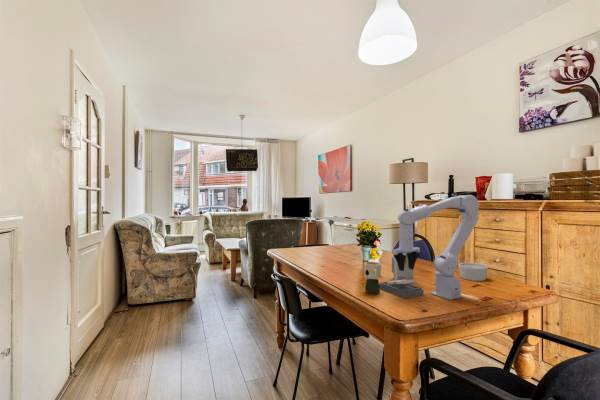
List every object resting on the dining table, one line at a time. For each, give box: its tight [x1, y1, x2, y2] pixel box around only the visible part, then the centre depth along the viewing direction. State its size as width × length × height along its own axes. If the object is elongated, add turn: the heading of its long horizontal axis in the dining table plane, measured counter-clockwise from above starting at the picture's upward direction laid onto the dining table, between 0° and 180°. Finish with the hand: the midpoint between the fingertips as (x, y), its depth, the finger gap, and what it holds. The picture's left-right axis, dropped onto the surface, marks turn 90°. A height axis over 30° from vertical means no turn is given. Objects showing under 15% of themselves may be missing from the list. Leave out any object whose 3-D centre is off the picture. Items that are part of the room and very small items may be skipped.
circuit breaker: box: [391, 253, 415, 285], centre depth 149 cm, size 8×14×15 cm, turn 174°
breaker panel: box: [379, 279, 425, 299], centre depth 133 cm, size 16×11×3 cm
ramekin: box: [458, 262, 489, 282], centre depth 154 cm, size 13×13×7 cm
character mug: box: [363, 261, 382, 294], centre depth 131 cm, size 11×7×13 cm, turn 2°
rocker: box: [386, 279, 415, 285], centre depth 133 cm, size 10×6×2 cm, turn 27°
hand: (406, 269), depth 129 cm, fingers open, 5 cm apart
